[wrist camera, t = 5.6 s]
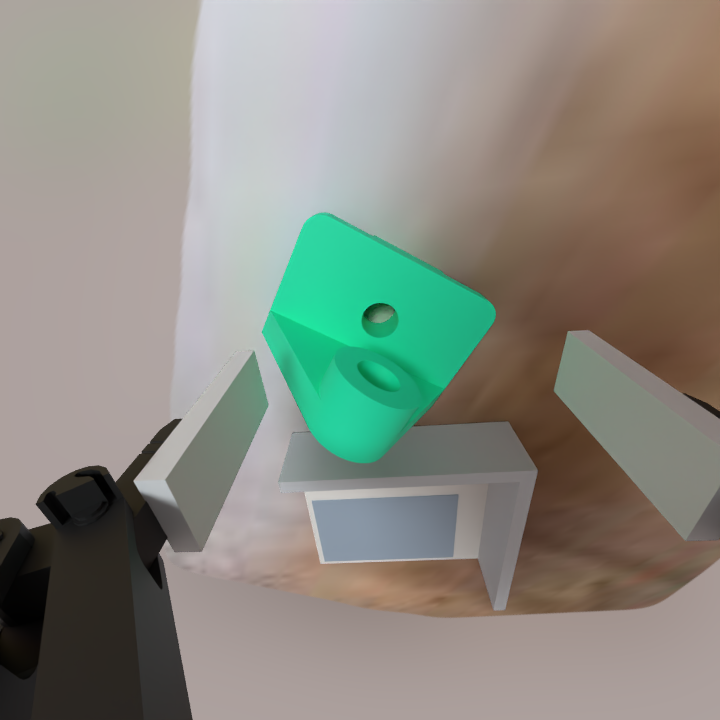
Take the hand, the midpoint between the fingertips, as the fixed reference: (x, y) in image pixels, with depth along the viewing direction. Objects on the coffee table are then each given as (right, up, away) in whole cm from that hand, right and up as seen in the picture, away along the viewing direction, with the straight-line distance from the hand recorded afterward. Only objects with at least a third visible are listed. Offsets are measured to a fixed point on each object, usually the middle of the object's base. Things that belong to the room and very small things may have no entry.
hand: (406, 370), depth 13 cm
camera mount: (-1, +4, +8) cm, 9 cm away
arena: (+1, -13, +17) cm, 21 cm away
